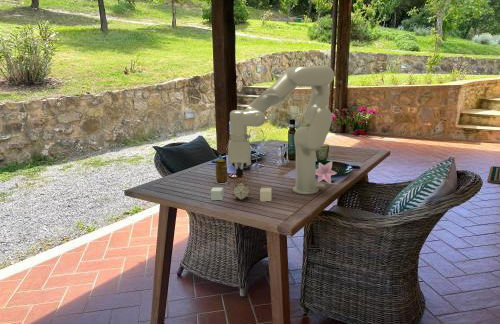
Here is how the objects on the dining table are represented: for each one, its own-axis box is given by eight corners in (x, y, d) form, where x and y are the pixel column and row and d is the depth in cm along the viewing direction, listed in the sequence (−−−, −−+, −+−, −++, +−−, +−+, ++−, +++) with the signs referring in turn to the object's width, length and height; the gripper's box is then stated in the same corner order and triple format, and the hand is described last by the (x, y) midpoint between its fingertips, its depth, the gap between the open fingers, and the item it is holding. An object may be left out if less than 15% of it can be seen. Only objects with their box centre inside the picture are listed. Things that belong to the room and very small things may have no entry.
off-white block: (271, 197, 185) (271, 187, 184) (271, 201, 181) (270, 191, 179) (261, 197, 186) (260, 187, 185) (260, 201, 181) (259, 191, 180)
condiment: (227, 179, 215) (226, 158, 212) (230, 184, 207) (229, 162, 204) (214, 181, 213) (212, 159, 210) (216, 185, 205) (215, 163, 202)
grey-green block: (223, 197, 188) (223, 187, 187) (221, 201, 183) (221, 191, 182) (213, 197, 189) (212, 187, 187) (211, 201, 184) (210, 191, 183)
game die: (240, 205, 187) (240, 185, 191) (254, 201, 183) (254, 181, 186) (228, 201, 181) (228, 180, 185) (242, 197, 176) (242, 176, 180)
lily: (308, 181, 211) (308, 168, 204) (321, 169, 216) (322, 156, 210) (327, 192, 204) (328, 179, 198) (340, 179, 210) (341, 166, 203)
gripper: (256, 136, 180) (256, 174, 184) (224, 136, 181) (225, 174, 186) (254, 139, 172) (255, 179, 177) (220, 139, 174) (222, 179, 179)
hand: (239, 176), depth 182 cm, fingers closed
